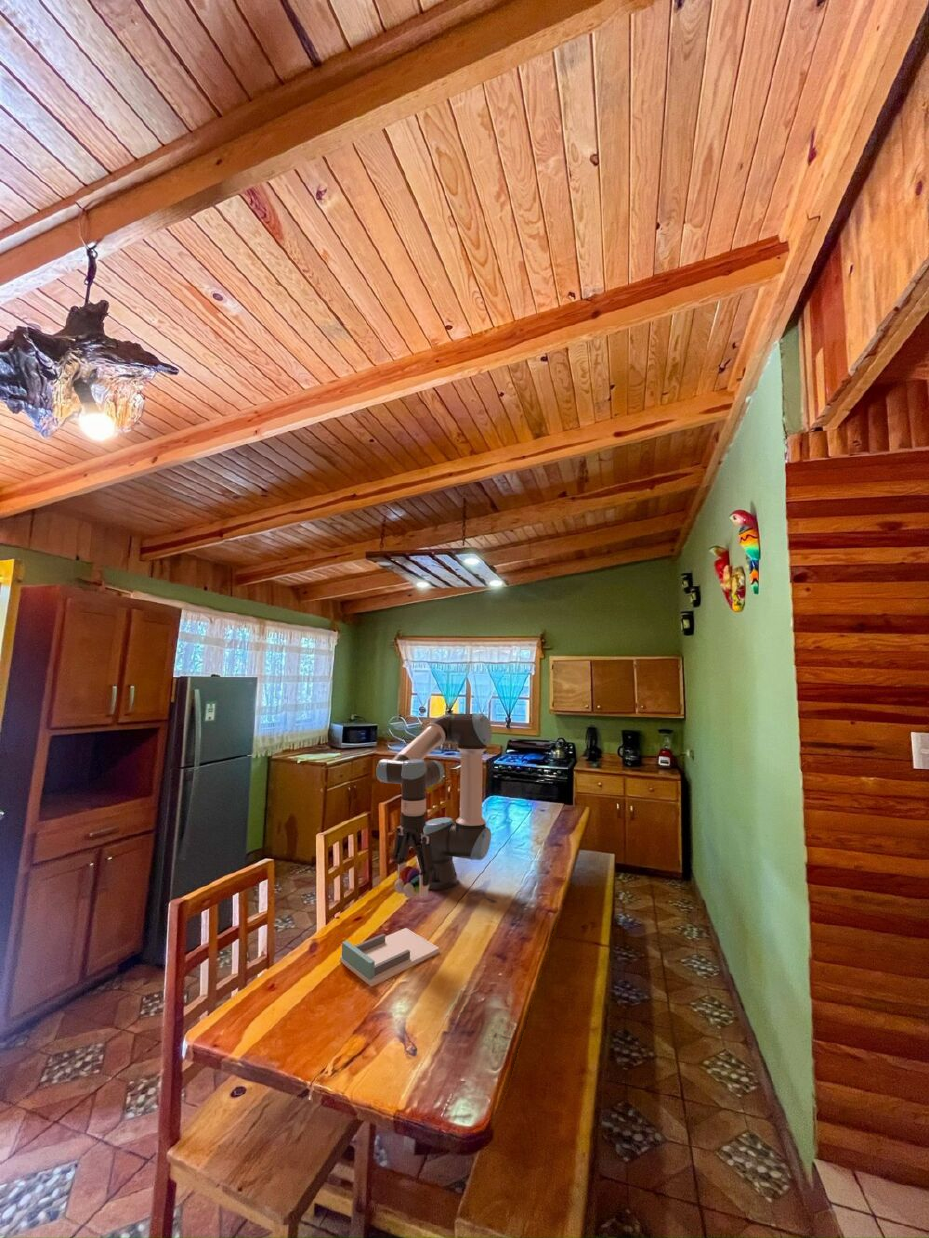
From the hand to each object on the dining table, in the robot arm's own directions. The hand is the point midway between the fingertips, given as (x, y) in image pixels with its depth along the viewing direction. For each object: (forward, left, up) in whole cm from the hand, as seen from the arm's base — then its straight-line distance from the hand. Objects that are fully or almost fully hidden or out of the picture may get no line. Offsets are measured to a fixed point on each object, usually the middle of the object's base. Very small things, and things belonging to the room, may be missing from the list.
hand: (412, 891), depth 144 cm
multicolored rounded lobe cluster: (0, 0, -1) cm, 1 cm away
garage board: (+7, -1, -16) cm, 17 cm away
